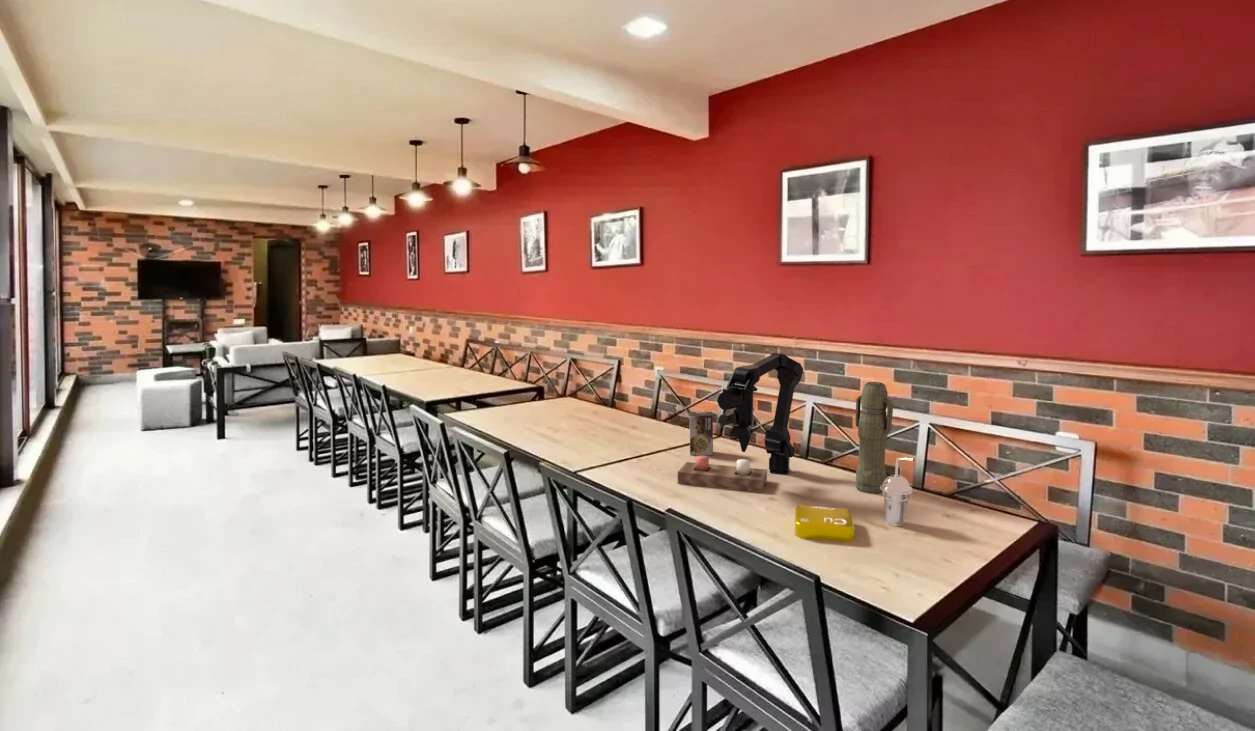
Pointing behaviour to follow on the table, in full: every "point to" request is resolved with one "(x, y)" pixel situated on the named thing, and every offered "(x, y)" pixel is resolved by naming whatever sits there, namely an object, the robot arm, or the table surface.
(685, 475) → the pin block
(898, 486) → the cup with straw
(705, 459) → the pink rounded block
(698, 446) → the coffee box
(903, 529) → the table surface
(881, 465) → the thermos
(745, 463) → the pin
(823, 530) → the element tile
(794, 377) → the robot arm
